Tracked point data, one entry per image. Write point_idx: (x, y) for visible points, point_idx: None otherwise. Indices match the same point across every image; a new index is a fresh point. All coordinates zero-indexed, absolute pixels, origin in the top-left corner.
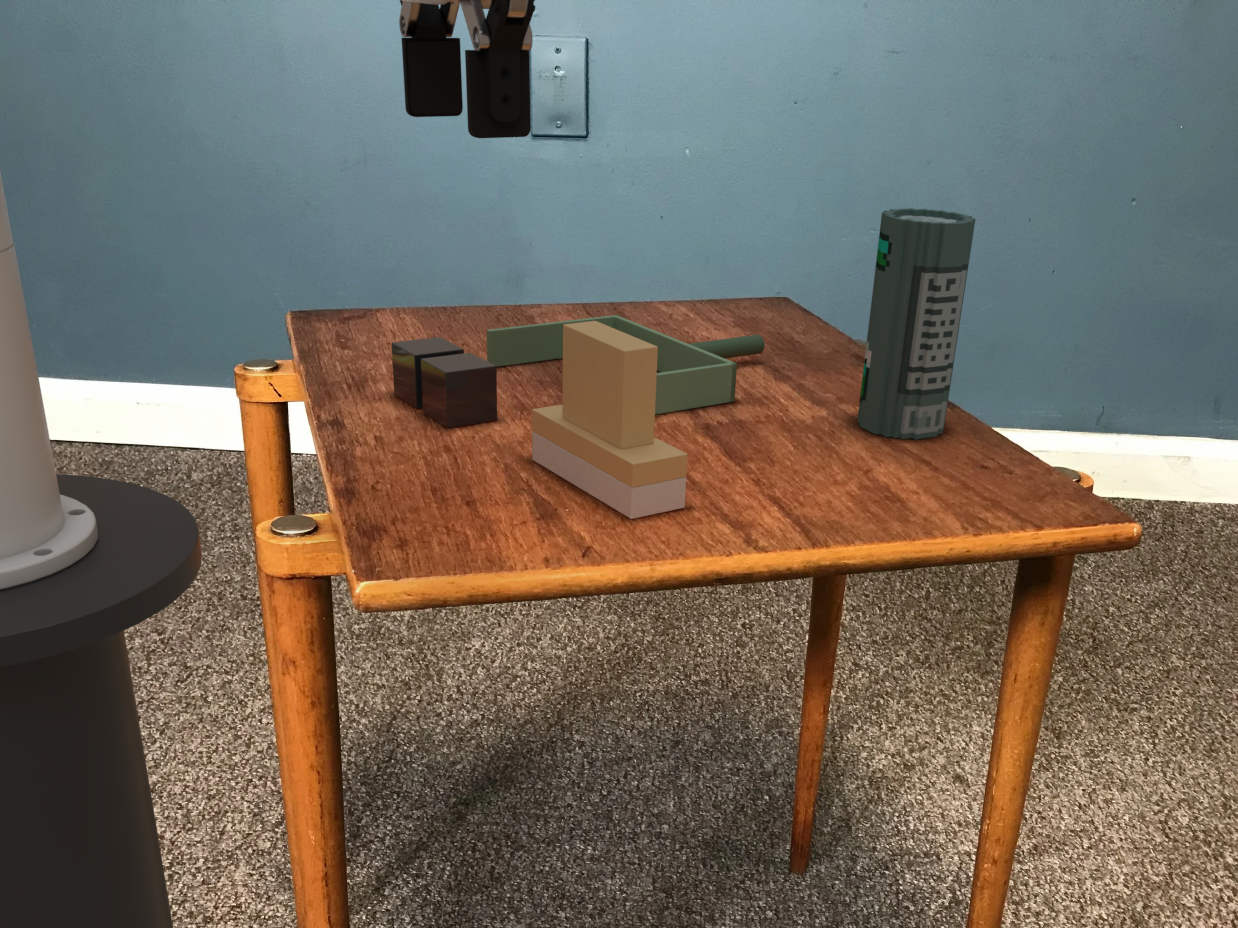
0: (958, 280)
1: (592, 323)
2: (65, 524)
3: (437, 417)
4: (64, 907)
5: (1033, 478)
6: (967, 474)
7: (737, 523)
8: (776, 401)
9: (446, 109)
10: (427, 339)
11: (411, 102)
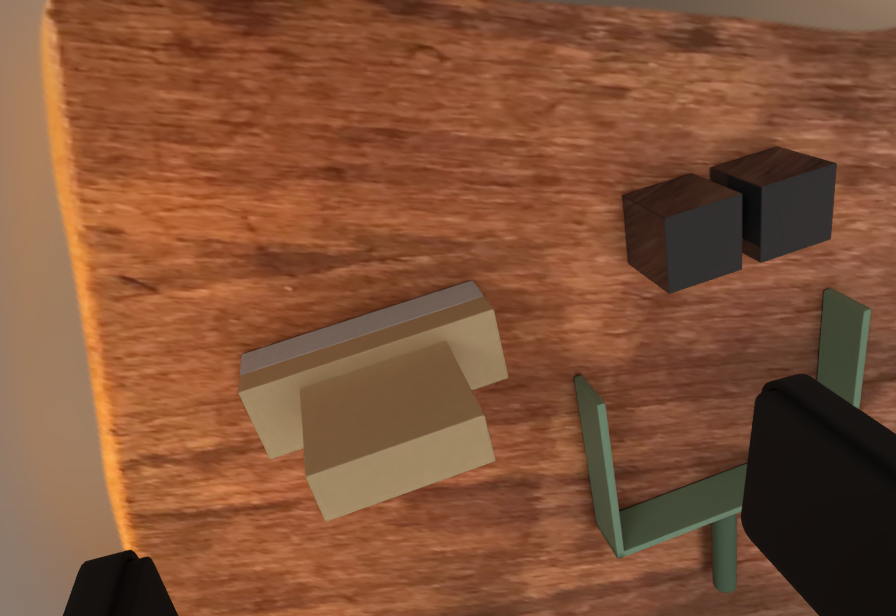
0: None
1: (480, 455)
2: None
3: (653, 188)
4: None
5: None
6: None
7: (214, 458)
8: (584, 561)
9: (752, 497)
10: (826, 219)
11: (788, 409)
